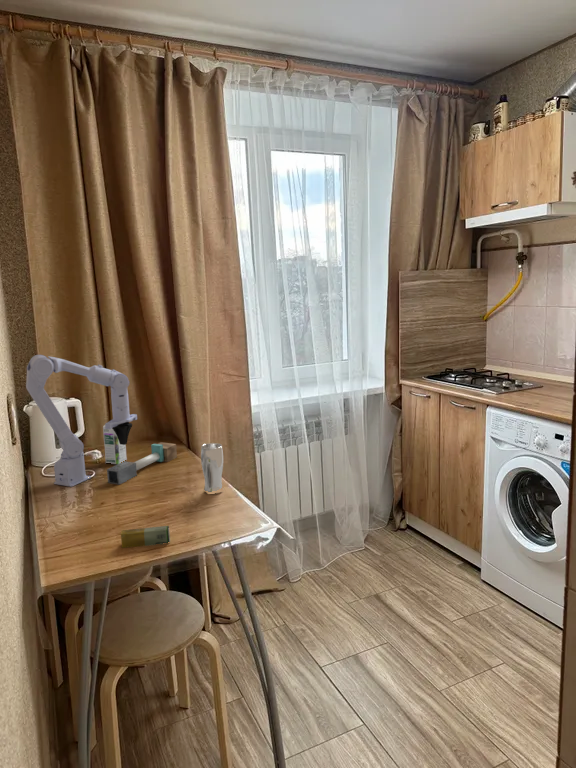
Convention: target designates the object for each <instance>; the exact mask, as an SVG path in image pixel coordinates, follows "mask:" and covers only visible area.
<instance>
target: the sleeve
mask: <svg viewBox="0 0 576 768" xmlns="http://www.w3.org/2000/svg"><path fill="white" fill-rule="evenodd" d="M134 462H135V461H127V460H126V461H124V462H122V463H120V464H114V465H113V466H111V467H109V468H107V469H106V473H107V475H106V476H107V484H112V485H119V486H121V485H122V484H124V483H126V482H128V481H130V480H132V479H134V478H135V476H136V477H138V474H137V472H138V470H137V471H136V463H134ZM133 477H134V478H133ZM131 478H132V479H131ZM129 479H130V480H129ZM127 480H128V481H127Z"/></svg>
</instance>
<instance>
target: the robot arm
mask: <svg viewBox="0 0 576 768" xmlns="http://www.w3.org/2000/svg"><path fill="white" fill-rule="evenodd" d="M60 372H68V373H72V374H75V375H80V376H84V377H86V378H87V380H88V381H89V382H90V383H95V384H98V385H101V386H105V387H110V393H111V394H110V397H111V411H112V419H110V420H109V421H107V422H106V423H104V425H105V429H113V430H114V432H115V433H116V435H117V437H118V440H119V443H120V444H122V445H125V444H126V445H127V444H128V440H129V434H130V432H131V429H132V427H133V423H132V422H133V421H137V420H138V414H137V413H132V414H130V413H131V412H130V402H129V401H130V400H129V399H130V398H129V392H128V387H129V386H130V380H129V377H128V376H127V375H126V374H124V373H122V372H120V371H117V370H116V369H114V368H113V369H109V368H105V367H104V366H103V365H102V364H97V365H92V366H90V367H88V366H85V365H82V364H79V363H76V362H73V361H70V360H67V359H64V358H59V357H54V356H49V355H48V356H45V355H43V354H36V355H33V356H32V357H31V358H30V360H29V362H28V364H27V366H26V382H25V388H26V390H27V392H28V394H29V395H30V396H31V398H32V400H33V401H34V403H35V404H36V406H37V407H38V409H39V410H40V412H41V414H42V415H43V417H44V418H45V419H46V421H47V423H48V424H49V426H50V427H51V429H52V430H53V432H54V433H55V435H56V437H57V439H58V440H59V441H58V443H59V446H60V448H61V450H62V452H61V453H60V458H59V459H58V460H57V461H55V463H54V466H53V467H54V477H55V481H54V482H53V484H54V485H59V486H66V487H71V488H72V487H74V486H76V485H79V484H81V483H82V482H85V481H88V480H90V479H91V478H90V477H92V476H91V475H87V474H86V464H85V454H84V449H85V447H84V446H85V444H84V442H82V440H81V439H79V437H78V436H77V434H74V433H73V432H72V430H71V429H70V427H69V425H68V424H67V422H66V421H65V419H64V418H63V416H62V415H61V413H60V412H59V410H58V408H57V406H56V405H55V404H54V401H52V399H51V397H50V396H49V394H48V393H47V391H46V390H45V386H46V383H47V381H48V379H49V377H50V376H51V375H52V374H53V373H55V374H58V373H60ZM88 477H89V478H88Z"/></svg>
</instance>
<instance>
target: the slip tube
mask: <svg viewBox="0 0 576 768" xmlns="http://www.w3.org/2000/svg"><path fill="white" fill-rule="evenodd" d="M150 449H151V454H149V455H146V456H145V457H143V458H140V459H138V460H136V461H133V462H134V463H136V471H137V472H138V470H140V469H143V468H144V467H145V468H146V466H148V465H151V464H152V463H155V462H159V463H162V462H164V450H163V445H161V444H159V443H153V444H151V448H150Z"/></svg>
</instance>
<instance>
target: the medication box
mask: <svg viewBox="0 0 576 768" xmlns="http://www.w3.org/2000/svg"><path fill="white" fill-rule="evenodd" d="M120 540H121V541H120V542H121V548H122V549H124V548H135V547H137V548H139V547H146V546H147V547H148V546H149V547H150V546H157V545H156V544H160V545H164V544H163V543H168V542H171V534H170V526H169V525H161V526H152V527H151V526H150V527H142V528H132V529H122V530H121V532H120Z"/></svg>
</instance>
